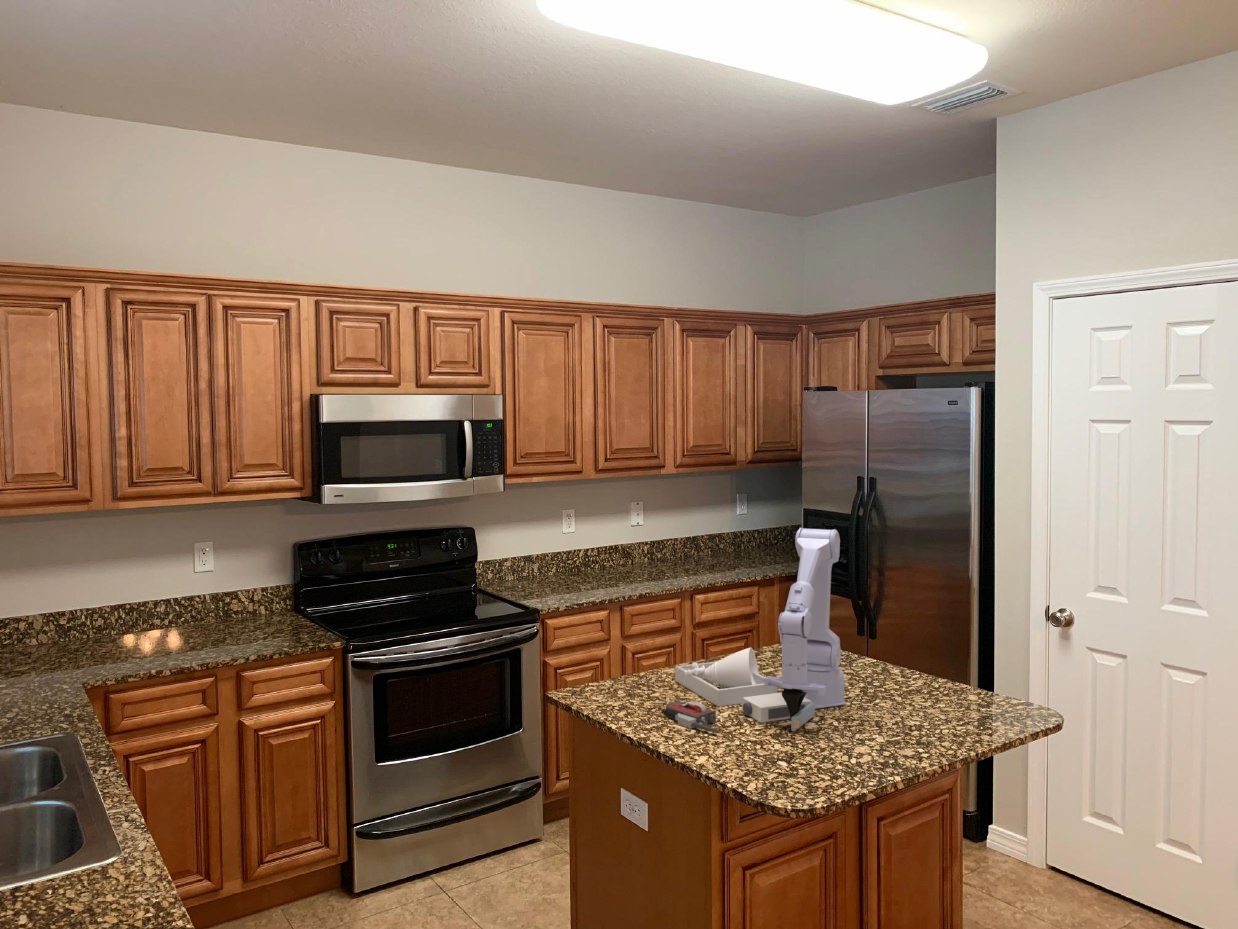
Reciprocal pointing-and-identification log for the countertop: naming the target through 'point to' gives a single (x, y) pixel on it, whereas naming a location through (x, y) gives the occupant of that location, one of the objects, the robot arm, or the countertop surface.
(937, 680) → the countertop surface
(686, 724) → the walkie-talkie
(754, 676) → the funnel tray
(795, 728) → the side door
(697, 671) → the rocket engine
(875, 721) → the countertop surface
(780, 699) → the white box with knob
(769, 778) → the countertop surface
